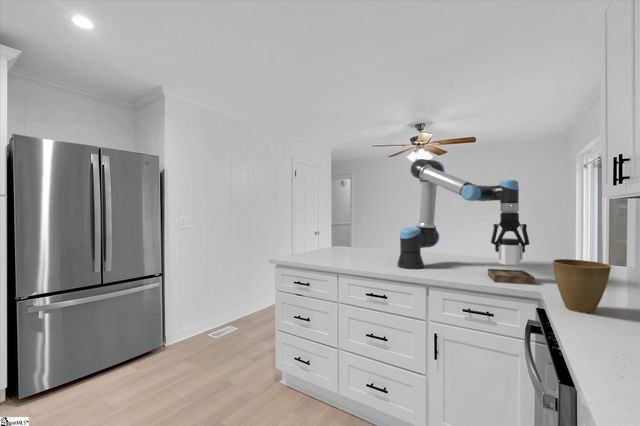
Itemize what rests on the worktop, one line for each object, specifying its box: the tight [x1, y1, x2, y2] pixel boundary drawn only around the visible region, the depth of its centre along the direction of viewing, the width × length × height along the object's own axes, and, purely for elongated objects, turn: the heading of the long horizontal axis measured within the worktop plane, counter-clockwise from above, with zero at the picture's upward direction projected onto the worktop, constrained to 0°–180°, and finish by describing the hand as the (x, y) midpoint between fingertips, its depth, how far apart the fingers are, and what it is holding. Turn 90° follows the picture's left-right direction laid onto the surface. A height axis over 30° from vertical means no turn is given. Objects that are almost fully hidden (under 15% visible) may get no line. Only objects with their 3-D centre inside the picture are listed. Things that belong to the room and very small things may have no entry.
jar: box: [498, 237, 521, 266], centre depth 145 cm, size 9×8×12 cm
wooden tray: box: [487, 268, 536, 286], centre depth 145 cm, size 16×16×3 cm
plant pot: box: [552, 258, 612, 313], centre depth 101 cm, size 15×15×16 cm
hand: (509, 259), depth 145 cm, fingers closed on jar, 8 cm apart
